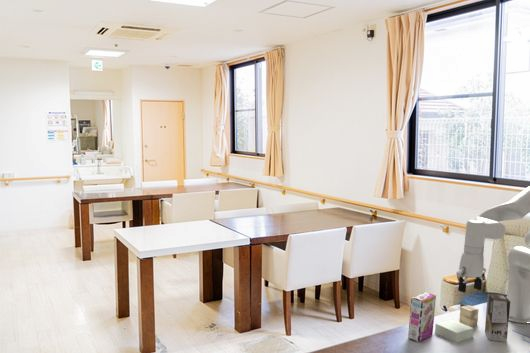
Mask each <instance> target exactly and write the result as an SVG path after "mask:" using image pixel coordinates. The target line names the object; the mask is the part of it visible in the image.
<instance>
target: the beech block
mask: <svg viewBox="0 0 530 353" xmlns="http://www.w3.org/2000/svg"><path fill="white" fill-rule="evenodd" d="M458 319H459V320H458V322H460V323H462V324H464V325H467V326H469V327H472V328H473V327H475V326H478V320H479V308H477V307H474V306H472V305H469V304H468V305H462V306H460V307H459V318H458Z"/></svg>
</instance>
